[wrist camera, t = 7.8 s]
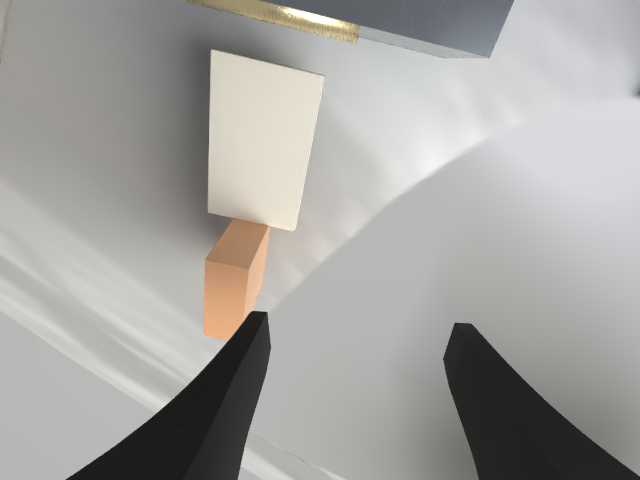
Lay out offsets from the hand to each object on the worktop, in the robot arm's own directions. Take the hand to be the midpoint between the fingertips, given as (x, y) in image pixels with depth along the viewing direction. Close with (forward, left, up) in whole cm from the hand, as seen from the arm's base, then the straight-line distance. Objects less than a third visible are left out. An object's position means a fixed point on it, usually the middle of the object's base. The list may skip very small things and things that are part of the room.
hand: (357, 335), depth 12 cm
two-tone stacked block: (+6, -2, -8) cm, 10 cm away
